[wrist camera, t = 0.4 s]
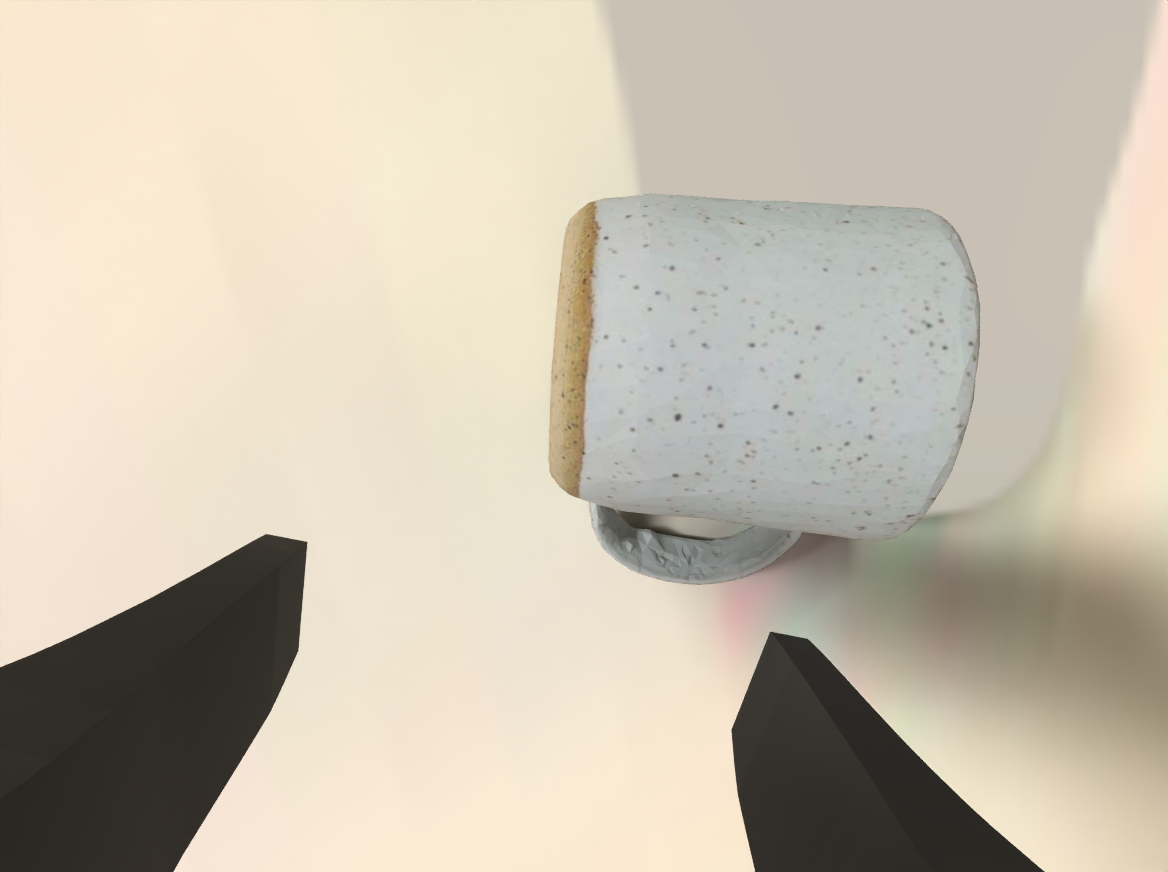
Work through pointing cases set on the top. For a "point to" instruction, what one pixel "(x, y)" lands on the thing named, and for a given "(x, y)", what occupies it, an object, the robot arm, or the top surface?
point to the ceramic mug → (758, 373)
